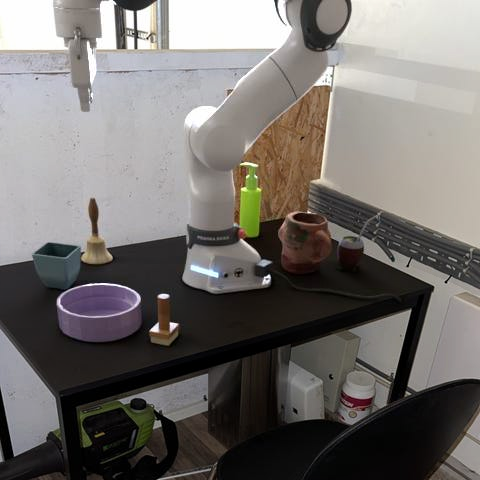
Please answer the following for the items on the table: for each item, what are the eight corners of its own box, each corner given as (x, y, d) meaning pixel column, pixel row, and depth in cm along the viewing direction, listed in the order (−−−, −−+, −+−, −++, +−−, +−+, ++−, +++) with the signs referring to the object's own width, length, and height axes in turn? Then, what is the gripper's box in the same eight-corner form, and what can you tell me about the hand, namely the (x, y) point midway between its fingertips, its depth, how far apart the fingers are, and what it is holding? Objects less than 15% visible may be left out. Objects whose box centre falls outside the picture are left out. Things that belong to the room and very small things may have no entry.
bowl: (138, 306, 148) (137, 282, 145) (144, 341, 134) (143, 315, 131) (61, 310, 145) (57, 285, 142) (59, 346, 131) (55, 319, 128)
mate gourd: (329, 265, 175) (336, 210, 166) (352, 261, 178) (360, 206, 169) (346, 275, 170) (354, 218, 161) (369, 270, 173) (379, 214, 164)
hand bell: (116, 254, 175) (112, 194, 165) (108, 265, 168) (103, 203, 159) (86, 252, 175) (80, 192, 166) (77, 263, 168) (70, 201, 159)
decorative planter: (346, 278, 168) (353, 225, 160) (311, 287, 162) (317, 232, 154) (297, 254, 181) (302, 204, 173) (263, 262, 175) (266, 210, 167)
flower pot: (70, 294, 152) (66, 258, 147) (36, 290, 153) (30, 253, 148) (85, 280, 159) (81, 245, 154) (52, 276, 160) (47, 241, 155)
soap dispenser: (243, 228, 197) (246, 160, 186) (262, 233, 194) (266, 164, 182) (232, 233, 193) (235, 163, 182) (251, 238, 190) (255, 168, 178)
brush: (160, 331, 138) (159, 289, 133) (179, 335, 137) (178, 292, 132) (149, 342, 134) (147, 299, 129) (168, 346, 133) (167, 303, 127)
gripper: (93, 30, 113) (101, 116, 121) (98, 23, 130) (104, 99, 137) (57, 30, 112) (67, 116, 120) (66, 22, 129) (74, 98, 137)
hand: (87, 107), depth 129 cm, fingers open, 8 cm apart
